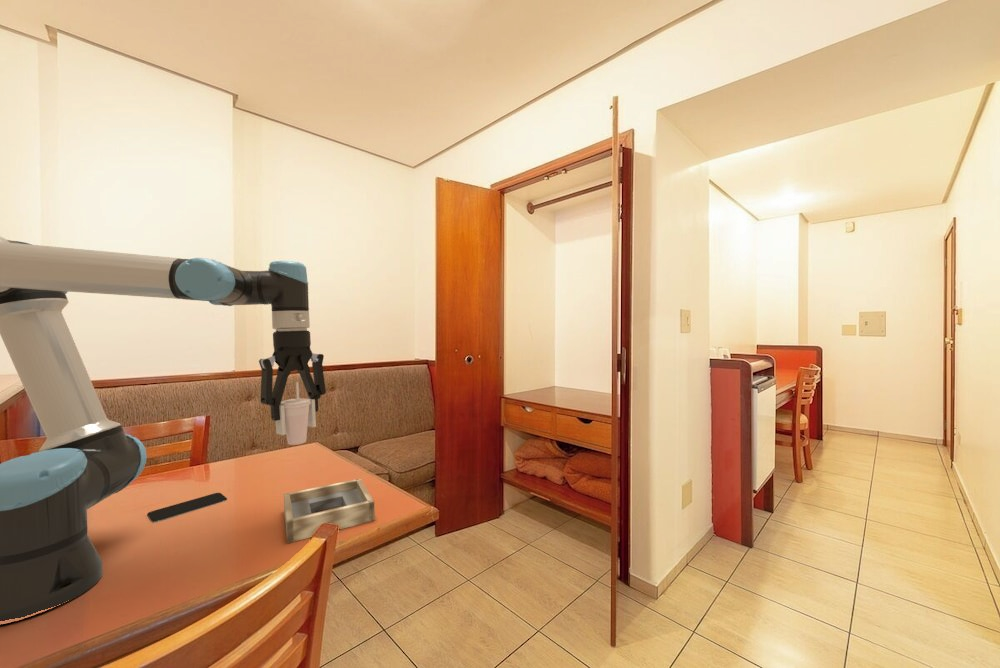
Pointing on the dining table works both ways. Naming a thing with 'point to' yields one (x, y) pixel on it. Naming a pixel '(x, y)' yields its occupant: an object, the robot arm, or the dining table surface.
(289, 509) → the socket box
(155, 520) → the smartphone
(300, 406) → the smoothie
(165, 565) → the dining table surface
